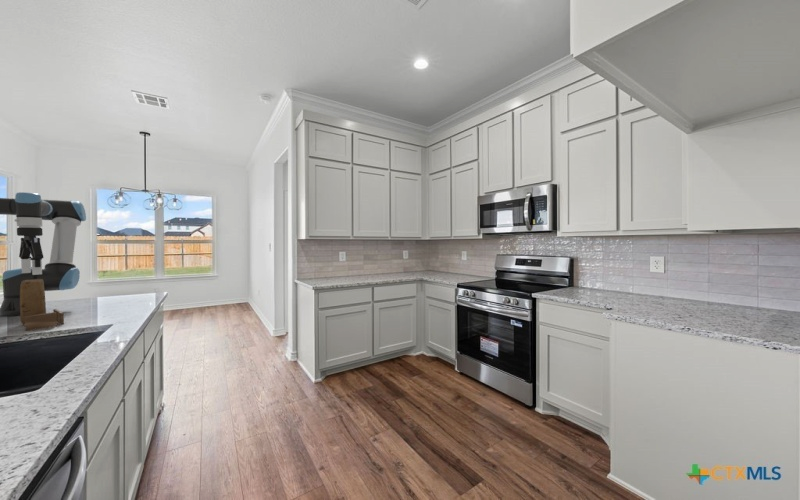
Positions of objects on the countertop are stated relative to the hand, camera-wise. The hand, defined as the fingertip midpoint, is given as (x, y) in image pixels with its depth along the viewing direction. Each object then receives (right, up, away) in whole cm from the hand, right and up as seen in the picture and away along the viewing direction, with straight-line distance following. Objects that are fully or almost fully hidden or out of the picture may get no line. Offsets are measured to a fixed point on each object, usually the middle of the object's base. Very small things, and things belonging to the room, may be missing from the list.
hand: (31, 273), depth 143 cm
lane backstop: (+12, -23, -7) cm, 27 cm away
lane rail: (+9, -23, +3) cm, 25 cm away
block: (0, -23, +1) cm, 23 cm away
